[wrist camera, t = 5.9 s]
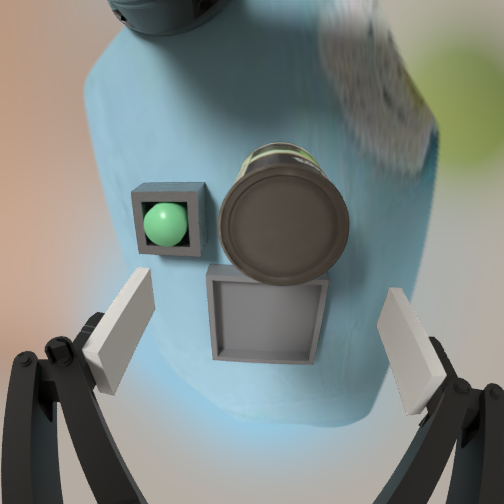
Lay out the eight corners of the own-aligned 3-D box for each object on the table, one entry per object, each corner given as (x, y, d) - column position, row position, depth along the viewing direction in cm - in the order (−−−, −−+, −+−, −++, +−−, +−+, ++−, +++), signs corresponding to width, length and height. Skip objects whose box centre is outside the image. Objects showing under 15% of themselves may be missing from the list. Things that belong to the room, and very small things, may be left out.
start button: (153, 195, 37) (141, 206, 34) (191, 195, 37) (183, 206, 33) (157, 232, 39) (146, 245, 36) (193, 233, 39) (186, 247, 36)
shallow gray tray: (209, 263, 42) (205, 274, 39) (326, 268, 41) (329, 279, 39) (215, 347, 49) (212, 359, 47) (311, 352, 48) (313, 364, 46)
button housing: (143, 182, 37) (130, 191, 34) (204, 182, 37) (197, 191, 33) (149, 240, 41) (139, 253, 37) (207, 242, 41) (200, 256, 37)
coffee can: (287, 123, 33) (297, 135, 21) (339, 192, 36) (372, 242, 24) (218, 177, 37) (190, 219, 24) (272, 239, 40) (271, 307, 27)
